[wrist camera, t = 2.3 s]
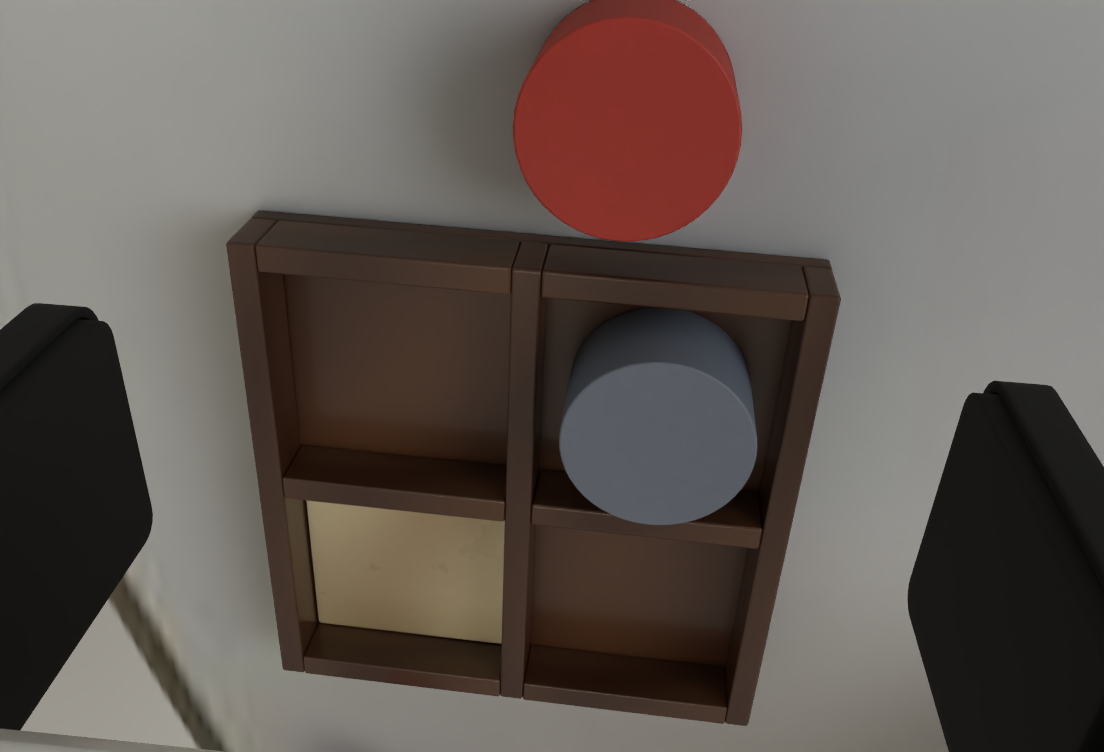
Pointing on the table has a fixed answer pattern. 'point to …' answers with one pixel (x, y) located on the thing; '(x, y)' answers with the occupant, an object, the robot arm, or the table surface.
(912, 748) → the table surface
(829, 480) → the table surface
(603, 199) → the cylinder
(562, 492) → the wooden compartment tray
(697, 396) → the grey token
